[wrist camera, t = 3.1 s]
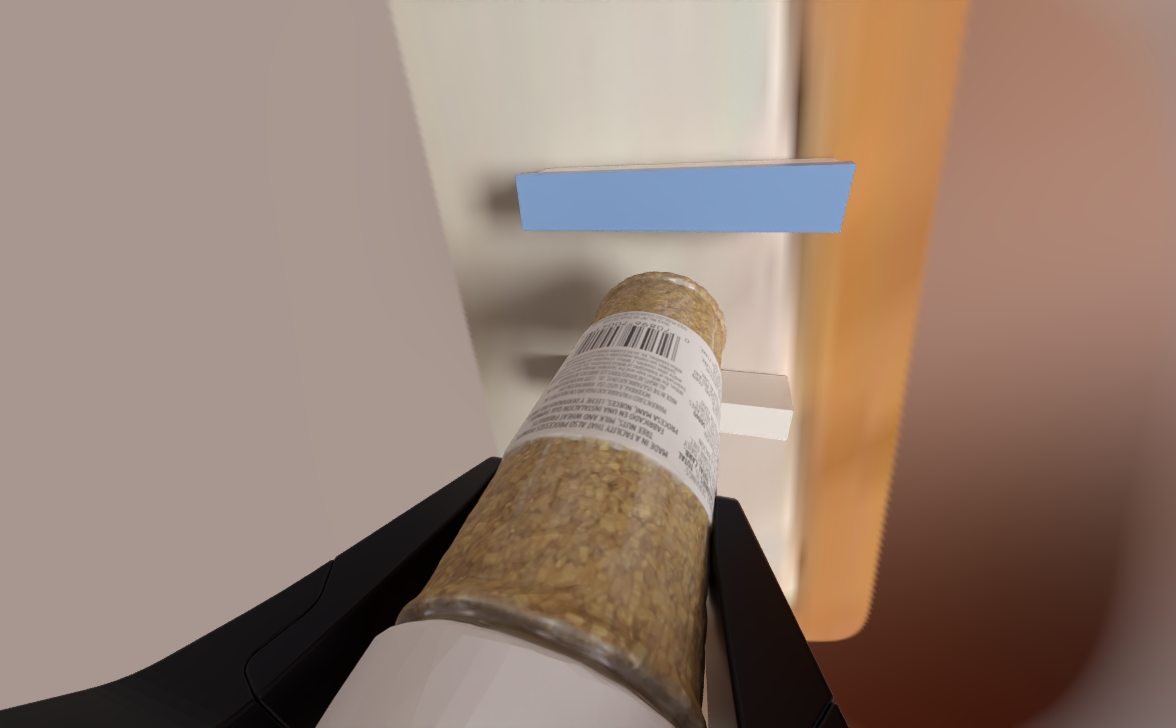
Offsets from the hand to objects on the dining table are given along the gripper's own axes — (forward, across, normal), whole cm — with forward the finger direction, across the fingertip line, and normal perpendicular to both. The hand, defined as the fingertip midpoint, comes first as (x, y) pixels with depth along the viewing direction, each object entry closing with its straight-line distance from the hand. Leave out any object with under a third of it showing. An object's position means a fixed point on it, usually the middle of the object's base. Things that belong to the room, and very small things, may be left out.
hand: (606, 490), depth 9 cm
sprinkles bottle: (+8, 0, 0) cm, 8 cm away
